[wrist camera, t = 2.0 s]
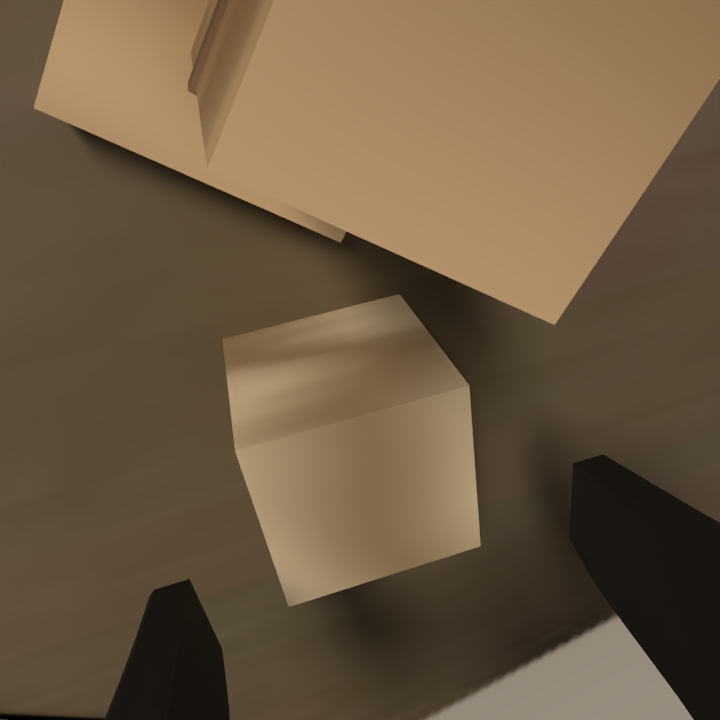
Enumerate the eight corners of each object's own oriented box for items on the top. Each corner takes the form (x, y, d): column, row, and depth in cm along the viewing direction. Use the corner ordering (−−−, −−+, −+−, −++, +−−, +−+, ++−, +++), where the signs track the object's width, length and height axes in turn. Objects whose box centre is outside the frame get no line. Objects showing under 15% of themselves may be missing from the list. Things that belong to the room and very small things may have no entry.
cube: (265, 474, 17) (288, 606, 13) (222, 337, 15) (234, 450, 11) (417, 431, 18) (480, 546, 14) (398, 292, 15) (469, 385, 11)
